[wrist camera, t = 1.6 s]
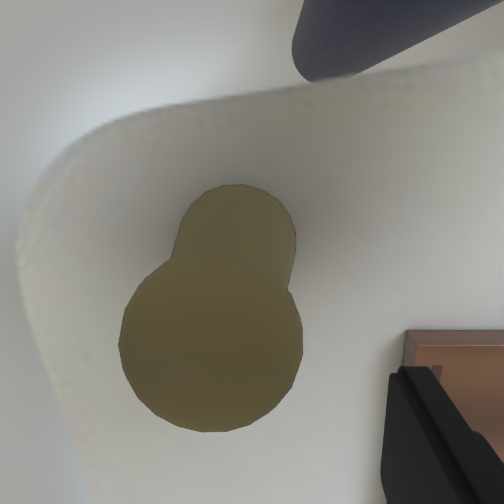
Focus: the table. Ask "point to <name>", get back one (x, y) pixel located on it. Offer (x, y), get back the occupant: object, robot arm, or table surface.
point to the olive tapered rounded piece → (217, 316)
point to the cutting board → (466, 374)
